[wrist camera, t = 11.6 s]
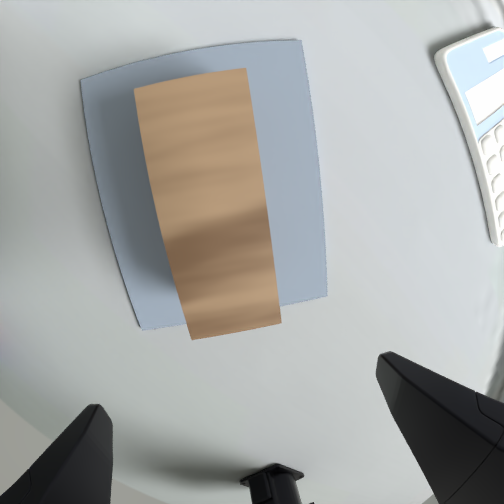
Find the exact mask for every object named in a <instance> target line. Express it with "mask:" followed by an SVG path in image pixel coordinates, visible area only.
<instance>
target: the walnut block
mask: <svg viewBox="0 0 504 504" xmlns="http://www.w3.org/2000/svg"><path fill="white" fill-rule="evenodd" d="M134 94H135V101H136V108H137V114H138V121H139V127H140V133H141V138H142V144H143V150H144V155H145V160H146V165H147V170H148V175H149V180H150V185H151V190H152V194H153V199H154V203H155V208H156V212H157V217H158V221H159V225H160V229H161V233H162V237H163V241H164V245H165V249H166V253H167V257H168V261H169V264H170V268H171V272H172V276H173V279H174V283H175V286H176V290H177V293H178V297H179V300H180V304H181V307H182V310H183V314H184V317H185V320H186V323H187V327H188V330H189V333H190V336H191V339H192V340H195V339H201V338H207V337H213V336H219V335H224V334H230V333H235V332H241V331H246V330H251V329H256V328H261V327H266V326H270V325H275V324H280V323H282V322H281V314H280V305H279V297H278V289H277V281H276V273H275V265H274V257H273V249H272V241H271V234H270V226H269V219H268V211H267V204H266V197H265V190H264V182H263V175H262V168H261V161H260V154H259V148H258V141H257V134H256V127H255V121H254V114H253V108H252V101H251V95H250V88H249V82H248V76H247V70H246V68H240V69H232V70H224V71H217V72H211V73H205V74H199V75H193V76H188V77H183V78H178V79H173V80H168V81H164V82H159V83H155V84H151V85H147V86H143V87H139V88H136V89H134Z"/></svg>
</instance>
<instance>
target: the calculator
mask: <svg viewBox="0 0 504 504" xmlns="http://www.w3.org/2000/svg"><path fill="white" fill-rule="evenodd" d="M434 60H435V64H436V67H437V69H438V71H439V74H440V76H441V78H442V80H443V82H444V85H445V87H446V89H447V91H448V94H449V96H450V98H451V101H452V103H453V106H454V108H455V111H456V113H457V116H458V118H459V121H460V124H461V126H462V129H463V132H464V135H465V138H466V141H467V144H468V147H469V150H470V153H471V156H472V159H473V163H474V166H475V170H476V173H477V177H478V181H479V185H480V189H481V193H482V197H483V202H484V207H485V211H486V216H487V222H488V227H489V233H490V238H491V242H492V243H493V244H494V245H495V246H497V247H501V246H503V245H504V30H503V29H502V28H499V27H495V28H491V29H488V30H485V31H483V32H480V33H478V34H475V35H473V36H470V37H468V38H465V39H463V40H460V41H458V42H455V43H453V44H451V45H448V46H446V47H444V48H442V49H440V50H438V51H437V52H436V53H435V56H434Z"/></svg>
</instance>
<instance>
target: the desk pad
mask: <svg viewBox="0 0 504 504" xmlns="http://www.w3.org/2000/svg"><path fill="white" fill-rule="evenodd" d="M240 68H246V70H247V76H248V82H249V88H250V95H251V101H252V108H253V114H254V121H255V127H256V134H257V141H258V148H259V154H260V161H261V168H262V175H263V182H264V190H265V197H266V204H267V211H268V219H269V226H270V234H271V241H272V249H273V257H274V265H275V273H276V281H277V289H278V297H279V305H280V306H285V305H290V304H294V303H299V302H303V301H308V300H312V299H317V298H321V297H326V296H327V268H326V247H325V230H324V215H323V202H322V190H321V179H320V169H319V159H318V150H317V141H316V132H315V124H314V117H313V109H312V102H311V95H310V88H309V82H308V76H307V69H306V63H305V58H304V52H303V46H302V41H301V40H283V41H263V42H250V43H239V44H230V45H221V46H214V47H207V48H201V49H195V50H189V51H184V52H178V53H173V54H169V55H164V56H160V57H155V58H151V59H147V60H143V61H139V62H135V63H132V64H128V65H125V66H121V67H118V68H114V69H111V70H108V71H105V72H102V73H99V74H96V75H93V76H90V77H87V78H84V79H82V80H81V88H82V97H83V106H84V113H85V120H86V127H87V133H88V139H89V145H90V151H91V156H92V161H93V166H94V171H95V176H96V180H97V185H98V189H99V194H100V198H101V202H102V206H103V210H104V214H105V218H106V222H107V226H108V229H109V233H110V237H111V240H112V244H113V247H114V250H115V254H116V257H117V260H118V264H119V267H120V270H121V273H122V276H123V279H124V282H125V285H126V288H127V291H128V294H129V297H130V300H131V302H132V305H133V308H134V311H135V313H136V316H137V319H138V321H139V324H140V327H141V329H142V330H150V329H156V328H163V327H170V326H176V325H182V324H187V323H186V320H185V317H184V314H183V310H182V307H181V304H180V300H179V297H178V293H177V290H176V286H175V283H174V279H173V276H172V272H171V268H170V264H169V261H168V257H167V253H166V249H165V245H164V241H163V237H162V233H161V229H160V225H159V221H158V217H157V212H156V208H155V203H154V199H153V194H152V190H151V185H150V180H149V175H148V170H147V165H146V160H145V155H144V150H143V144H142V138H141V133H140V127H139V121H138V114H137V108H136V101H135V94H134V89H136V88H139V87H143V86H147V85H151V84H155V83H159V82H164V81H168V80H173V79H178V78H183V77H188V76H193V75H199V74H205V73H211V72H217V71H224V70H232V69H240Z"/></svg>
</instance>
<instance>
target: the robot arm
mask: <svg viewBox="0 0 504 504" xmlns="http://www.w3.org/2000/svg"><path fill="white" fill-rule="evenodd" d="M376 378H377V380H378V383H379V385H380V388H381V390H382V392H383V395H384V397H385V400H386V402H387V405H388V407H389V409H390V412H391V414H392V416H393V418H394V420H395V422H396V424H397V425H398V427H399V429H400V431H401V433H402V434H403V436H404V438H405V440H406V442H407V444H408V445H409V447H410V449H411V451H412V453H413V455H414V456H415V458H416V460H417V462H418V464H419V466H420V468H421V470H422V472H423V473H424V475H425V477H426V479H427V481H428V483H429V485H430V487H431V489H432V491H433V493H434V495H435V497H436V499H437V501H438V503H439V504H504V403H503V402H500V401H497V400H495V399H492V398H490V397H487V396H485V395H483V394H481V393H478V392H475V391H474V390H472V389H470V388H467V387H465V386H463V385H461V384H459V383H457V382H454V381H452V380H450V379H448V378H446V377H444V376H442V375H440V374H437V373H435V372H433V371H431V370H429V369H427V368H425V367H423V366H421V365H419V364H416V363H414V362H412V361H410V360H408V359H406V358H404V357H402V356H400V355H398V354H396V353H394V352H391V351H388V352H386V353H383V354H380V355H379V356H378V361H377V368H376ZM112 469H113V425H112V421H111V419H110V417H109V416H108V414H107V413H106V411H105V410H104V408H103V407H102V406H101V405H100V404H90V405H88V406H87V407H86V408H85V409H84V410H83V411H82V412H81V413H80V414H79V415H78V416H77V417H76V418H75V420H74V421H73V422H72V423H71V424H70V425H69V426H68V427H67V428H66V429H65V430H64V431H63V432H62V433H61V434H60V435H59V436H58V438H57V439H56V440H55V441H54V442H53V443H52V444H51V445H50V446H49V447H48V448H47V449H46V450H45V452H44V453H43V454H42V455H41V456H40V457H39V458H38V459H37V460H36V461H35V462H34V463H33V464H32V465H31V467H30V468H29V469H28V470H27V471H26V472H25V473H24V474H23V475H22V476H21V477H20V478H19V479H18V480H17V481H16V482H15V483H14V484H13V485H12V486H11V487H10V488H9V489H8V490H7V491H5V492H4V493H3V494H2V495H1V496H0V504H110V497H111V482H112ZM303 477H304V474H303V473H301V472H298V471H295V470H293V469H290V468H287V467H285V466H282V465H279V464H277V465H274V466H272V467H269V468H267V469H265V470H263V471H261V472H259V473H256V474H254V475H252V476H250V477H247V478H245V479H243V480H240V484H241V485H244V486H247V487H249V489H250V494H251V500H252V504H302V502H301V499H300V496H299V492H298V489H297V485H296V481H297V480H299V479H301V478H303ZM309 504H314V502H313V503H309Z"/></svg>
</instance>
